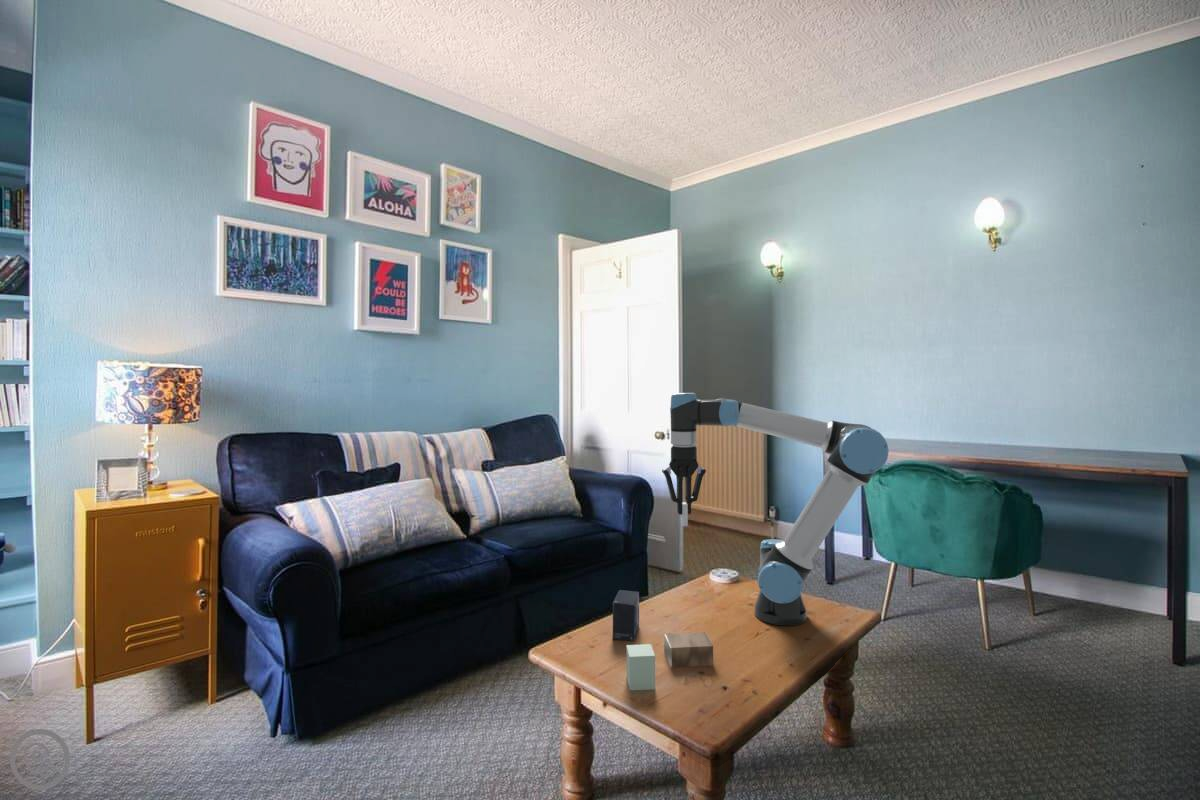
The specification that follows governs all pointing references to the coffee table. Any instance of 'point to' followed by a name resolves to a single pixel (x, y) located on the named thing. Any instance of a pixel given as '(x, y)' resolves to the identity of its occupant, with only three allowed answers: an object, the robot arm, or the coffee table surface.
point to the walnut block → (688, 649)
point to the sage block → (640, 667)
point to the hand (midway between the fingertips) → (684, 525)
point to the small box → (625, 615)
